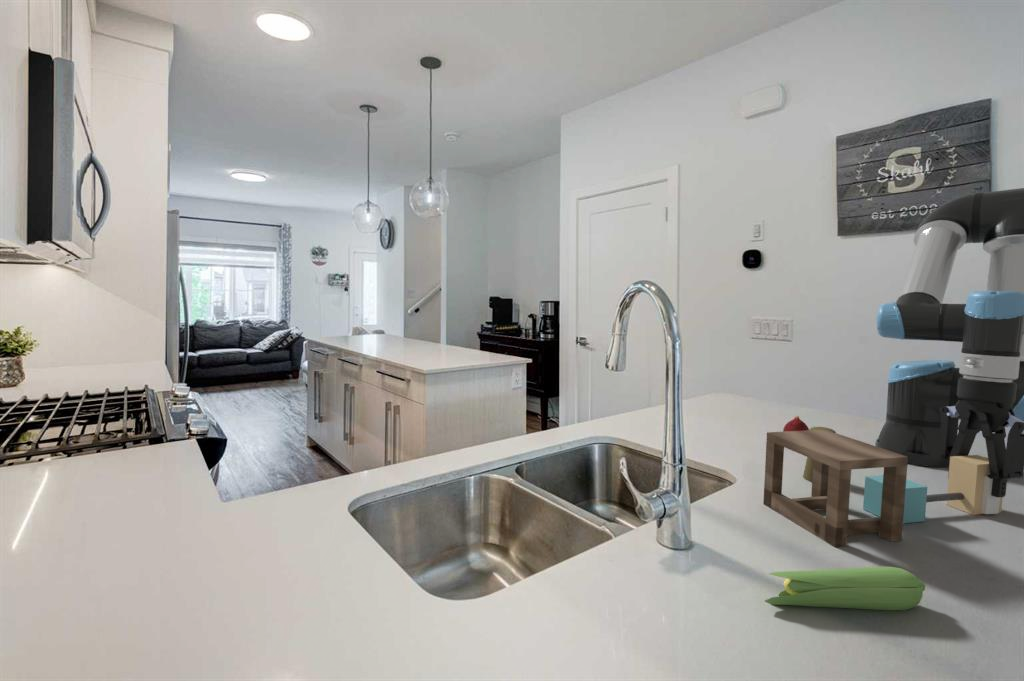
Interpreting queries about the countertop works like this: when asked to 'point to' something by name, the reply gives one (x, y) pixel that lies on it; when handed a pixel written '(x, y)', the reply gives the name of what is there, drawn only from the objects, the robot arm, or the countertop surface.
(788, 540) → the countertop surface
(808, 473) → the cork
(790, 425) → the onion
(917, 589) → the edible corn
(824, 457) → the walnut bench
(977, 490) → the square-ended dumbbell
